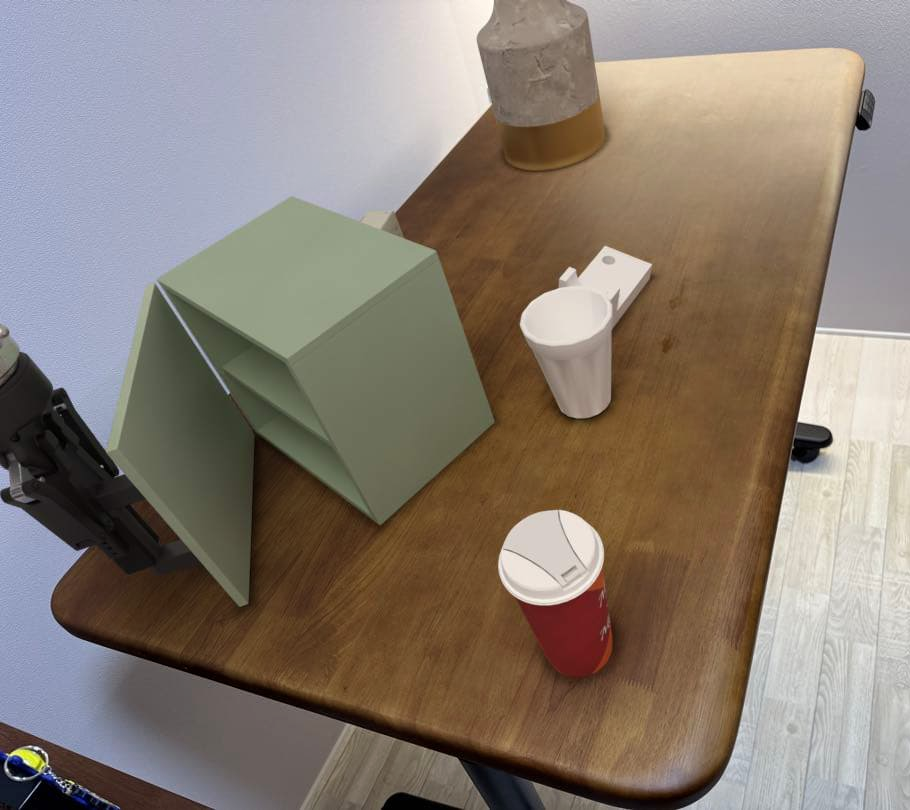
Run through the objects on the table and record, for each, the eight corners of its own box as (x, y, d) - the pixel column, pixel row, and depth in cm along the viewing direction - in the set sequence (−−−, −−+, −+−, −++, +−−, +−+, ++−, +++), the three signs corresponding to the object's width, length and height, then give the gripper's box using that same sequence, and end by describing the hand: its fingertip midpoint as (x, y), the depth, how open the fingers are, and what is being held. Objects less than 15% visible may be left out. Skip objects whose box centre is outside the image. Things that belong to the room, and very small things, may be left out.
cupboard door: (182, 626, 79) (32, 475, 63) (201, 452, 98) (90, 302, 82) (248, 604, 79) (117, 448, 63) (254, 435, 98) (154, 282, 82)
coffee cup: (645, 650, 67) (623, 550, 57) (569, 710, 65) (532, 615, 55) (587, 587, 73) (558, 485, 63) (515, 640, 70) (473, 543, 60)
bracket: (604, 343, 99) (610, 300, 93) (556, 322, 101) (559, 278, 95) (648, 284, 106) (656, 240, 100) (602, 265, 108) (607, 221, 102)
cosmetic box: (395, 279, 118) (367, 208, 110) (421, 279, 117) (395, 207, 109) (378, 305, 114) (348, 234, 106) (405, 306, 113) (376, 233, 104)
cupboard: (380, 525, 84) (286, 358, 67) (256, 433, 99) (155, 278, 82) (495, 422, 91) (436, 250, 75) (364, 351, 107) (291, 195, 90)
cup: (526, 414, 91) (500, 327, 83) (577, 363, 96) (558, 276, 87) (593, 445, 86) (573, 355, 77) (644, 389, 90) (631, 299, 82)
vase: (616, 118, 143) (590, -68, 122) (590, 169, 131) (558, -28, 110) (523, 123, 149) (484, -53, 128) (490, 172, 137) (442, -13, 117)
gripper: (0, 424, 54) (175, 606, 70) (44, 309, 66) (186, 488, 81) (-107, 460, 54) (93, 635, 70) (-44, 338, 65) (116, 512, 81)
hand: (143, 555), depth 76 cm, fingers open, 2 cm apart
